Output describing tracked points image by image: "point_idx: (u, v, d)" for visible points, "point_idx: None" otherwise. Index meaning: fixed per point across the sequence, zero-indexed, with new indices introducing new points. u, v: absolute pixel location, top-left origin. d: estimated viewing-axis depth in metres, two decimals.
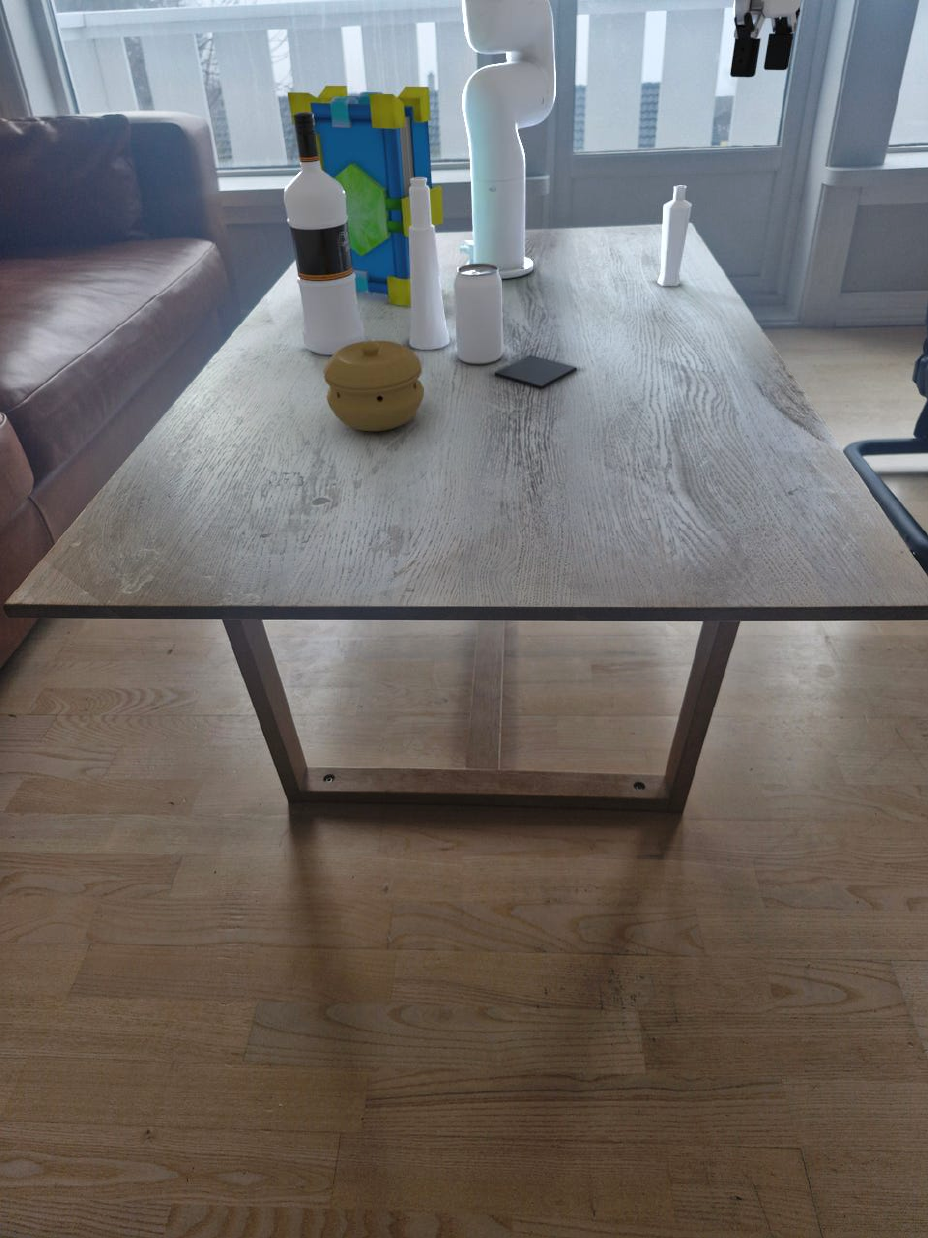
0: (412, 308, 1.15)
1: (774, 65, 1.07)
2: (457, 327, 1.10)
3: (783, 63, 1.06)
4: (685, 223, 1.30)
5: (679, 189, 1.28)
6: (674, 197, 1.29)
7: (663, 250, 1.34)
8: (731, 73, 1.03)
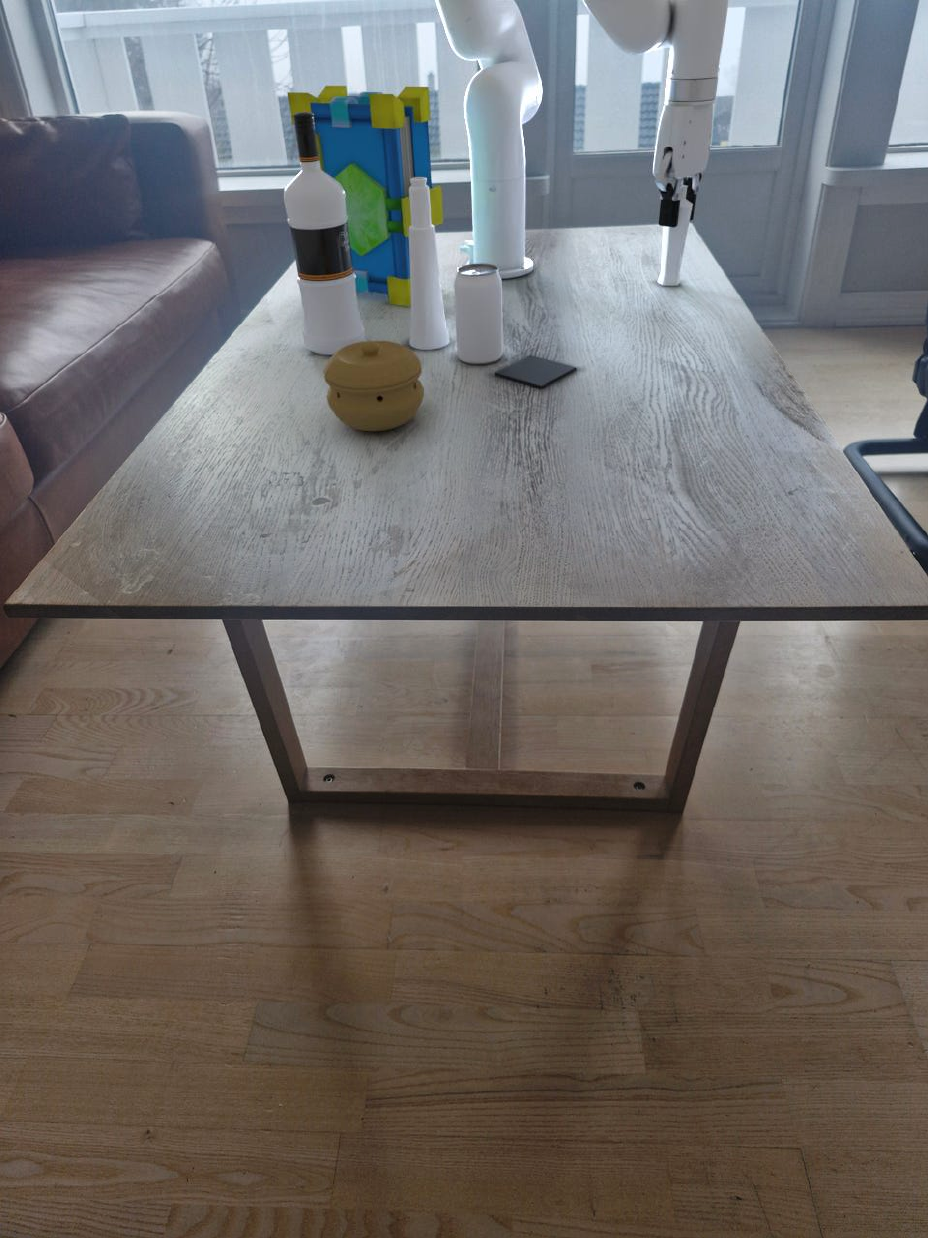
0: (412, 308, 1.15)
1: None
2: (457, 327, 1.10)
3: None
4: (686, 222, 1.30)
5: (680, 188, 1.28)
6: None
7: (663, 249, 1.35)
8: (659, 223, 1.31)
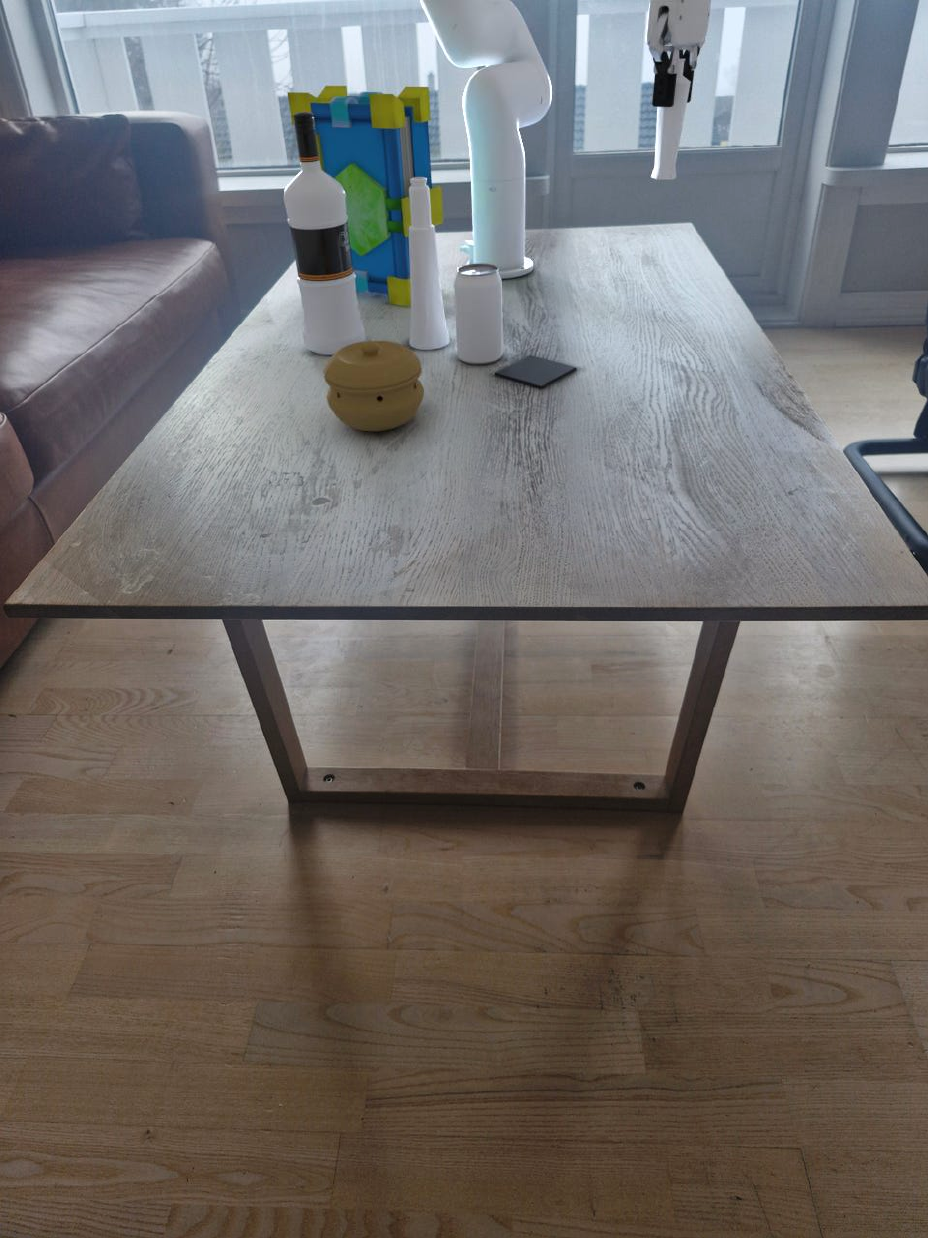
0: (412, 308, 1.15)
1: None
2: (457, 327, 1.10)
3: None
4: (683, 102, 1.15)
5: (677, 61, 1.13)
6: None
7: (658, 137, 1.19)
8: (652, 103, 1.16)
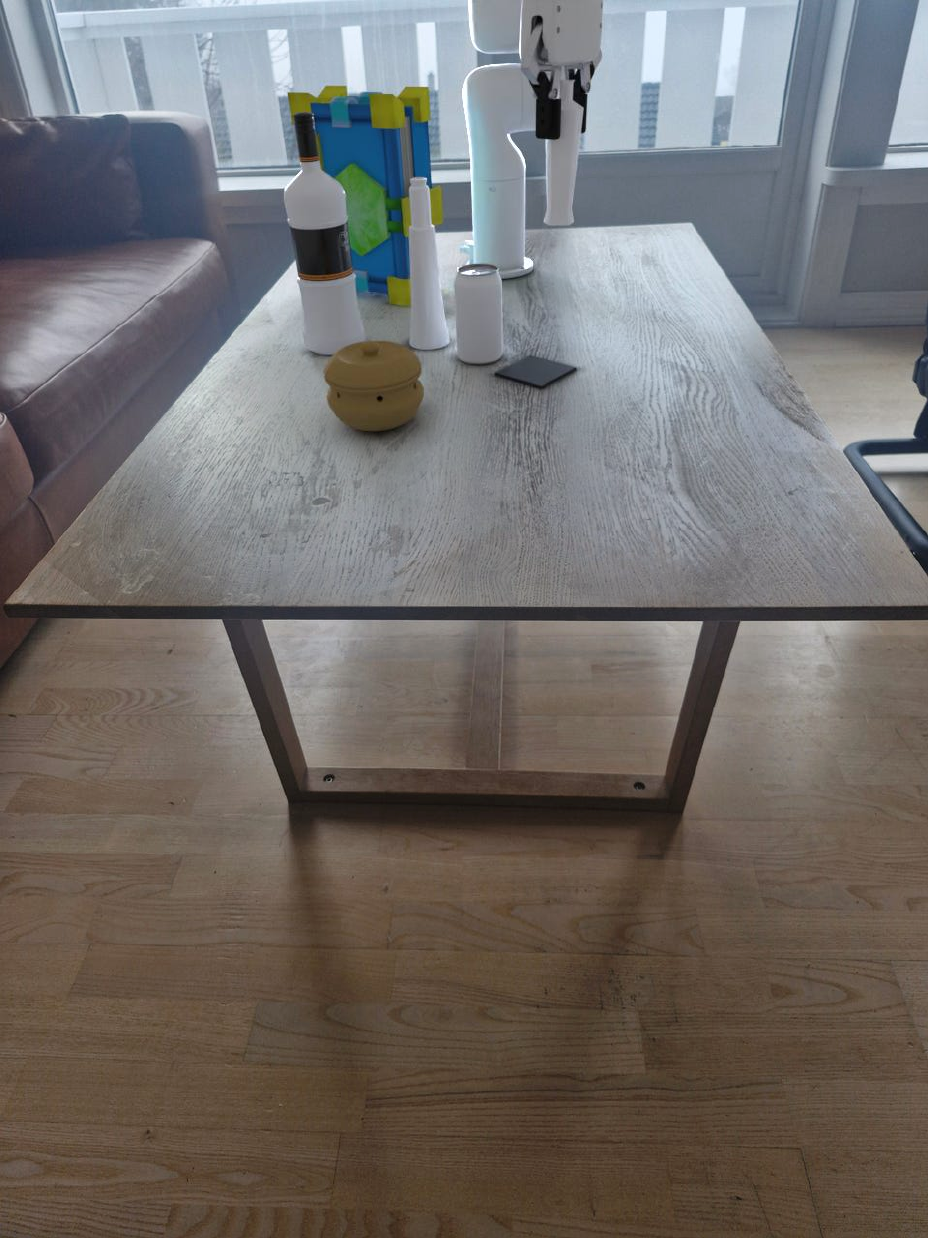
0: (412, 308, 1.15)
1: None
2: (457, 327, 1.10)
3: None
4: (574, 133, 0.93)
5: (563, 83, 0.91)
6: (558, 96, 0.92)
7: (547, 174, 0.97)
8: (536, 135, 0.94)
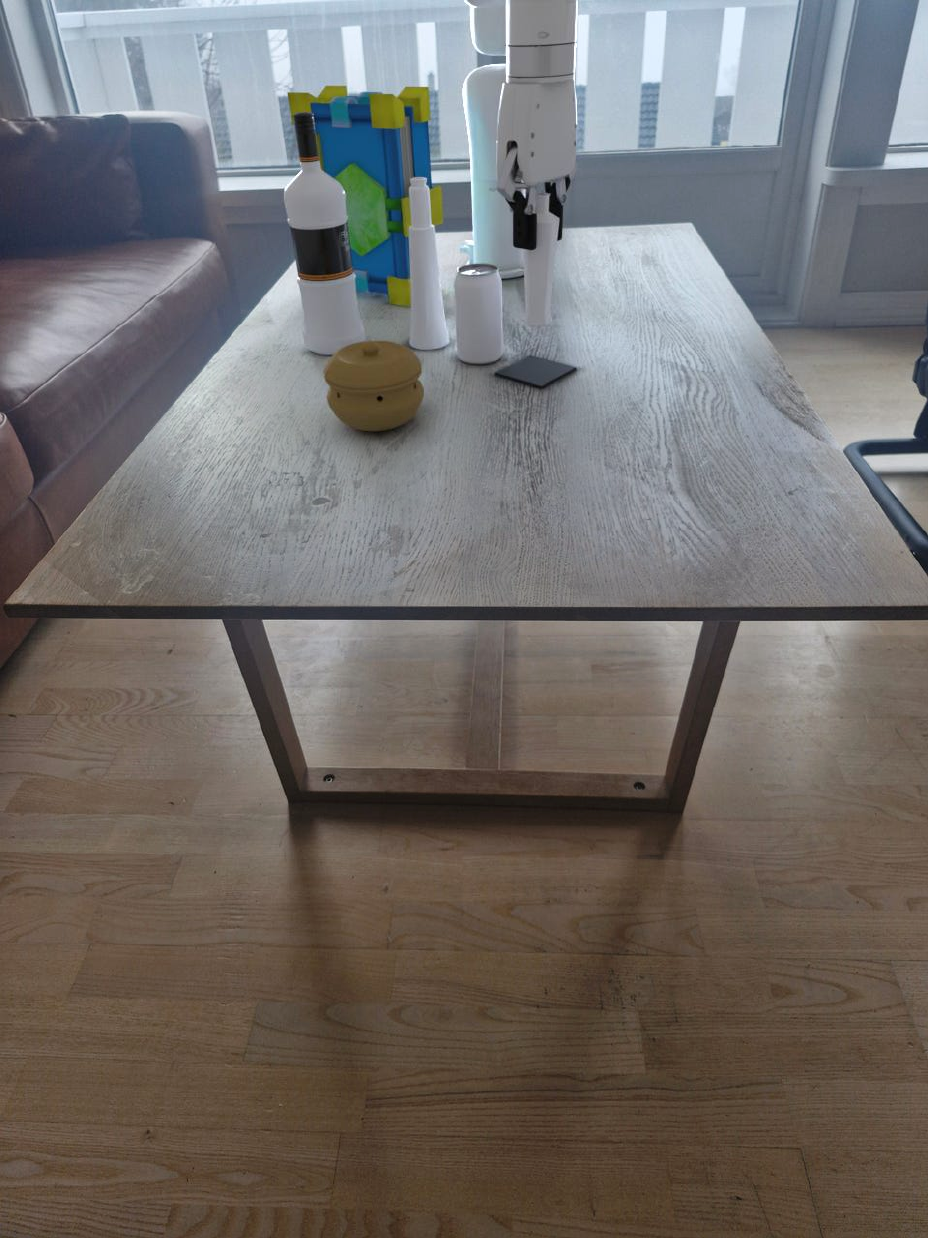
0: (412, 308, 1.15)
1: None
2: (457, 327, 1.10)
3: None
4: (550, 243, 0.97)
5: (539, 197, 0.95)
6: (534, 208, 0.96)
7: (525, 279, 1.01)
8: (513, 244, 0.97)
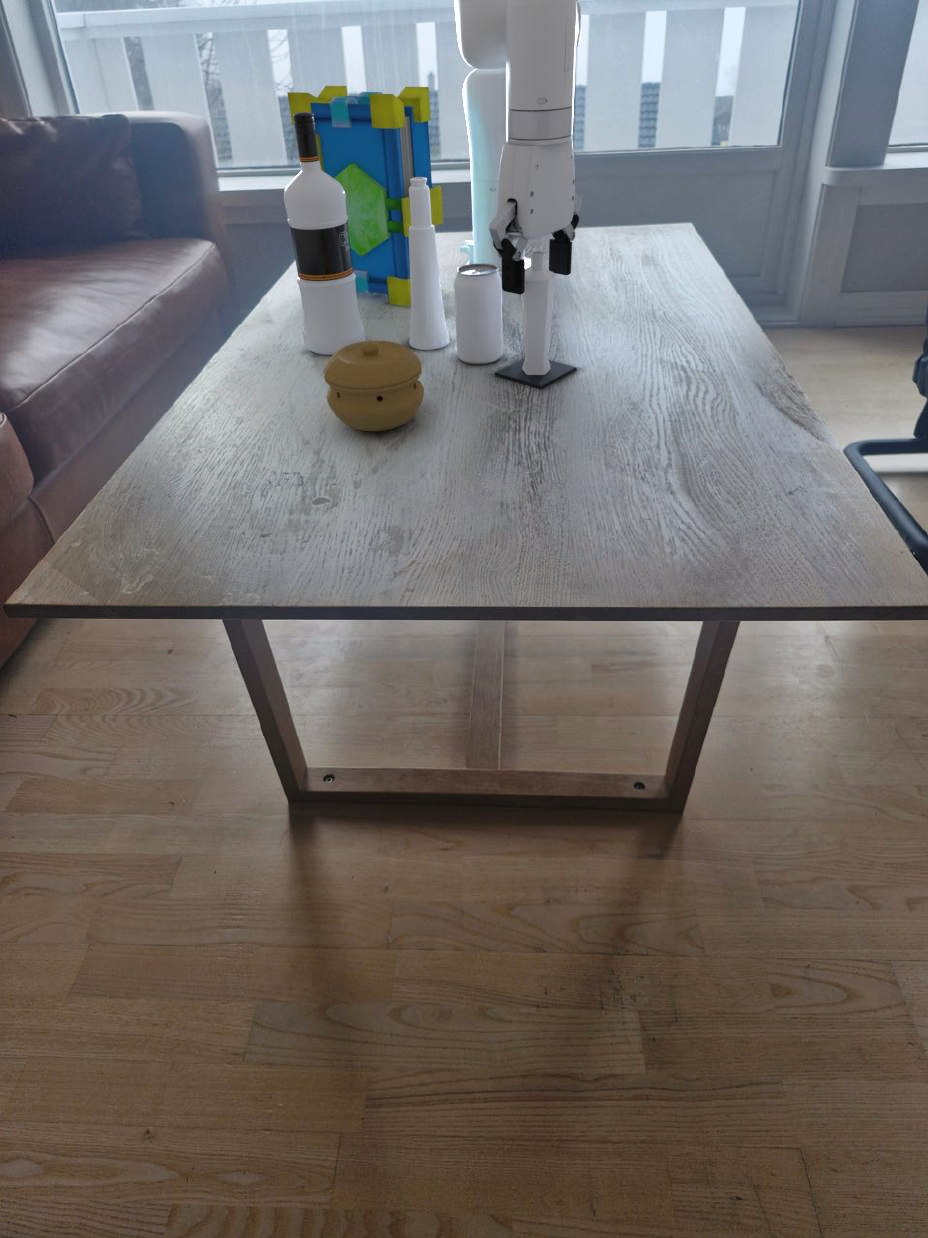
0: (412, 308, 1.15)
1: (557, 270, 1.04)
2: (457, 327, 1.10)
3: (564, 269, 1.03)
4: (547, 299, 1.01)
5: (536, 256, 0.98)
6: (531, 266, 1.00)
7: (524, 330, 1.05)
8: (502, 288, 0.99)
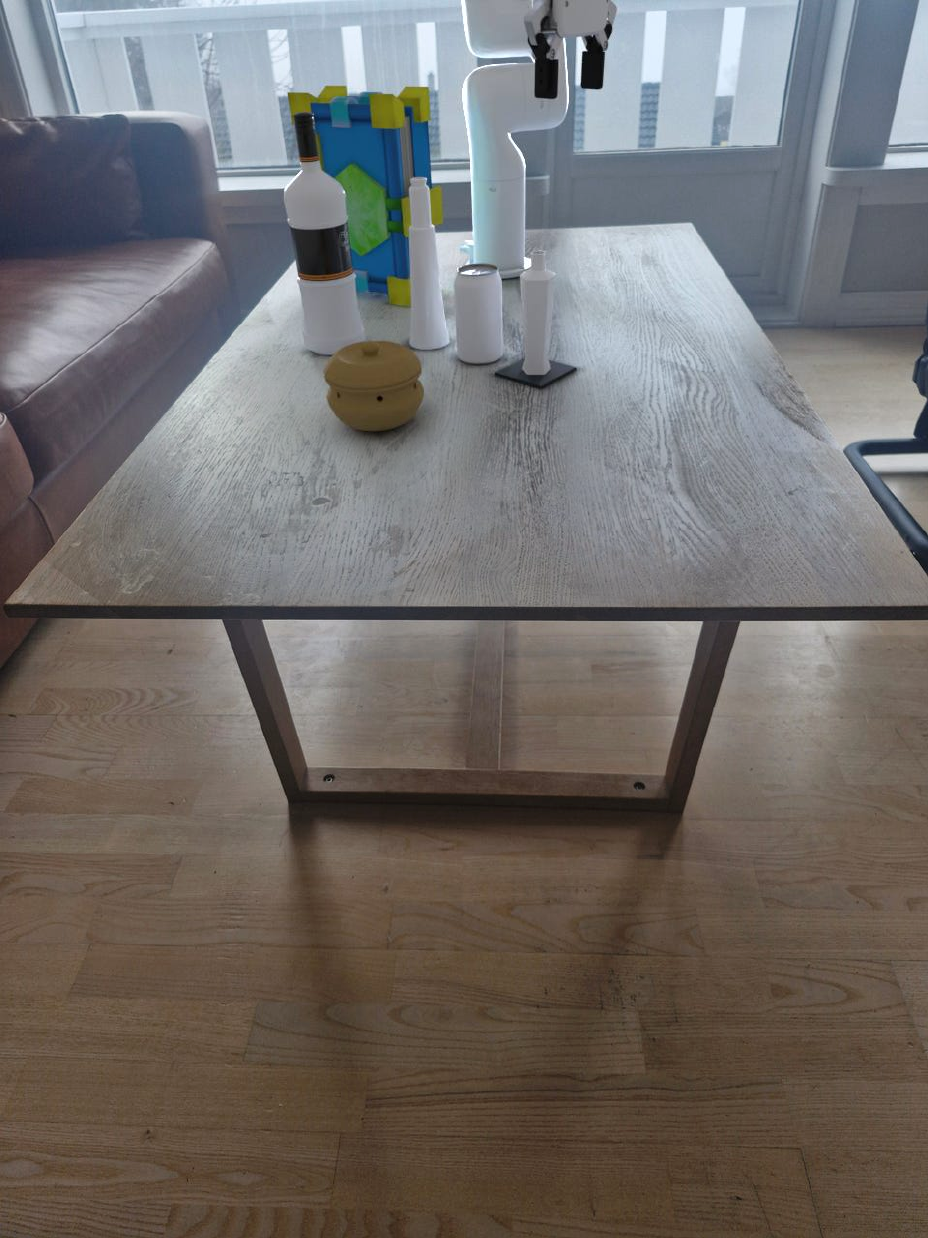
0: (412, 308, 1.15)
1: (589, 84, 1.03)
2: (457, 327, 1.10)
3: (597, 83, 1.03)
4: (547, 299, 1.01)
5: (536, 256, 0.98)
6: (531, 266, 1.00)
7: (524, 330, 1.05)
8: (535, 94, 0.99)
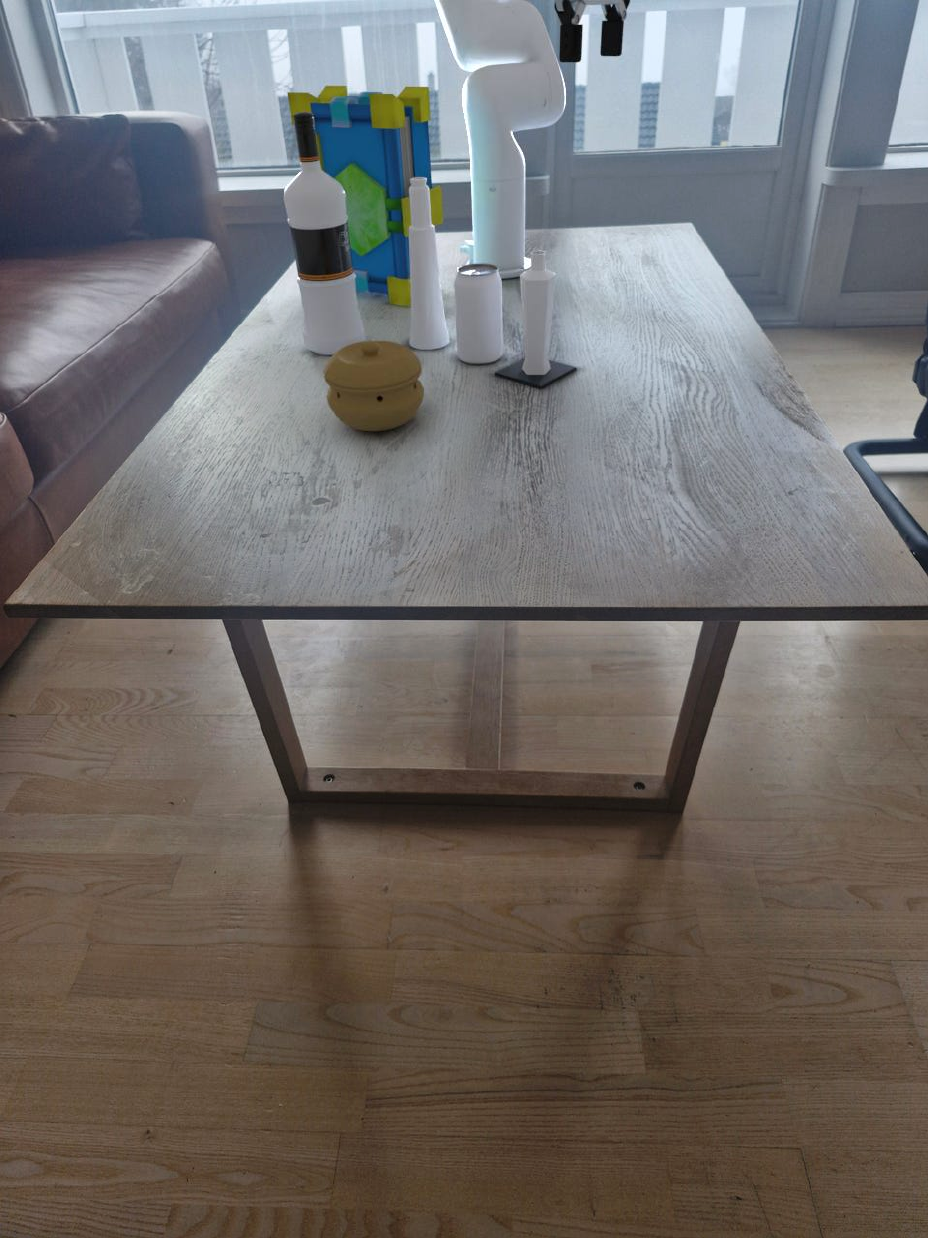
0: (412, 308, 1.15)
1: (609, 51, 1.11)
2: (457, 327, 1.10)
3: (616, 50, 1.10)
4: (547, 299, 1.01)
5: (536, 256, 0.98)
6: (531, 266, 1.00)
7: (524, 330, 1.05)
8: (560, 58, 1.06)
